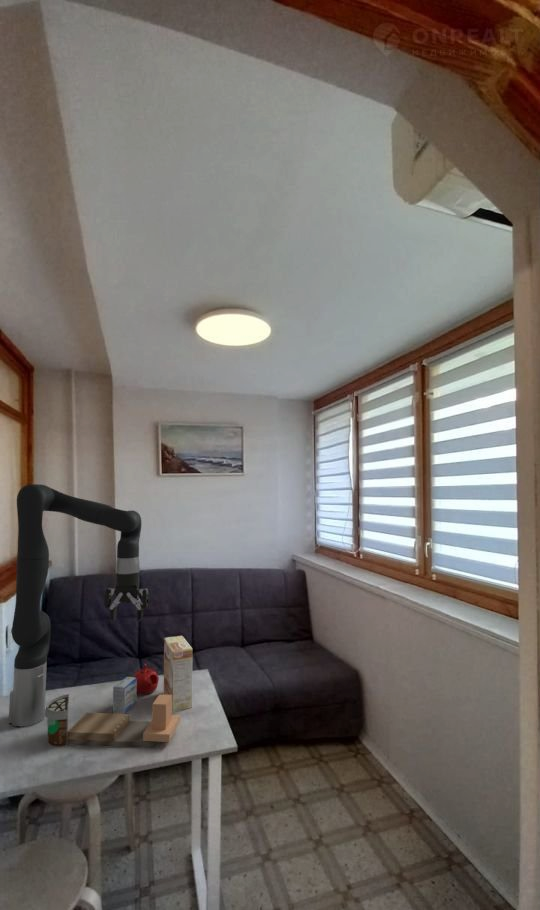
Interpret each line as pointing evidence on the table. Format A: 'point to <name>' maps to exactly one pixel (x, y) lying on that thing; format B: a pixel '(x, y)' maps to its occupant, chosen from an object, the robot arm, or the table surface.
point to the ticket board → (124, 737)
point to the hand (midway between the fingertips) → (126, 620)
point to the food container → (57, 720)
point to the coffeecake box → (178, 672)
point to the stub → (162, 721)
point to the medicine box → (124, 695)
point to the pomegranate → (146, 680)
